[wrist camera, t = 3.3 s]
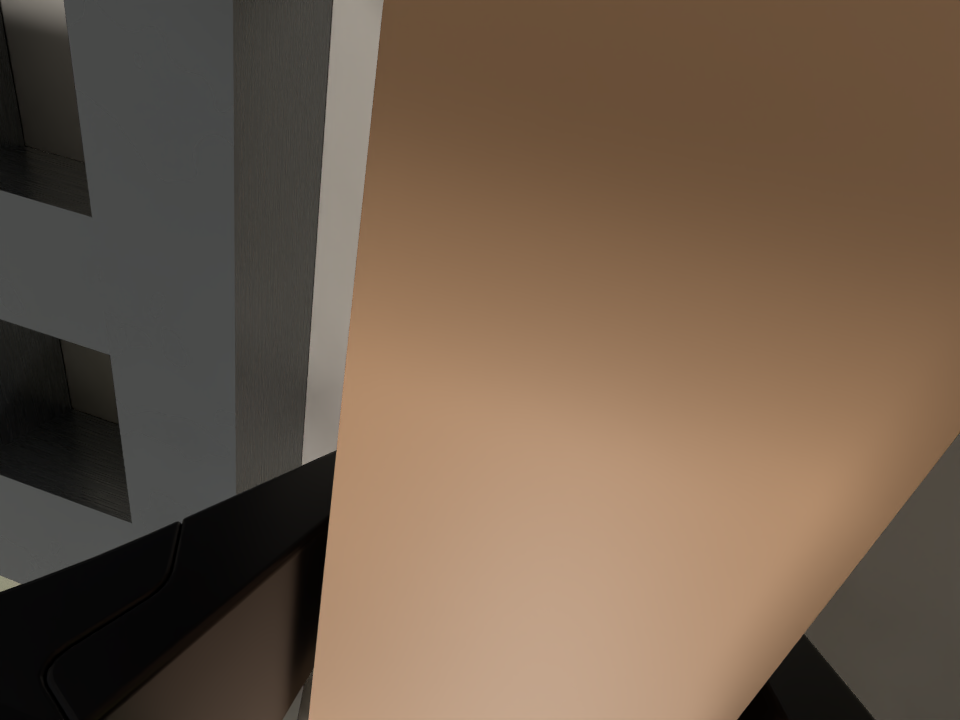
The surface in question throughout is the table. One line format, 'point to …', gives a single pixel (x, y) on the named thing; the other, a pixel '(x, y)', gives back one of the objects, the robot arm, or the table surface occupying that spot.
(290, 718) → the grey upright panel
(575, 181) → the tan wooden plank
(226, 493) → the gray slotted slab
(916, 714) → the table surface
